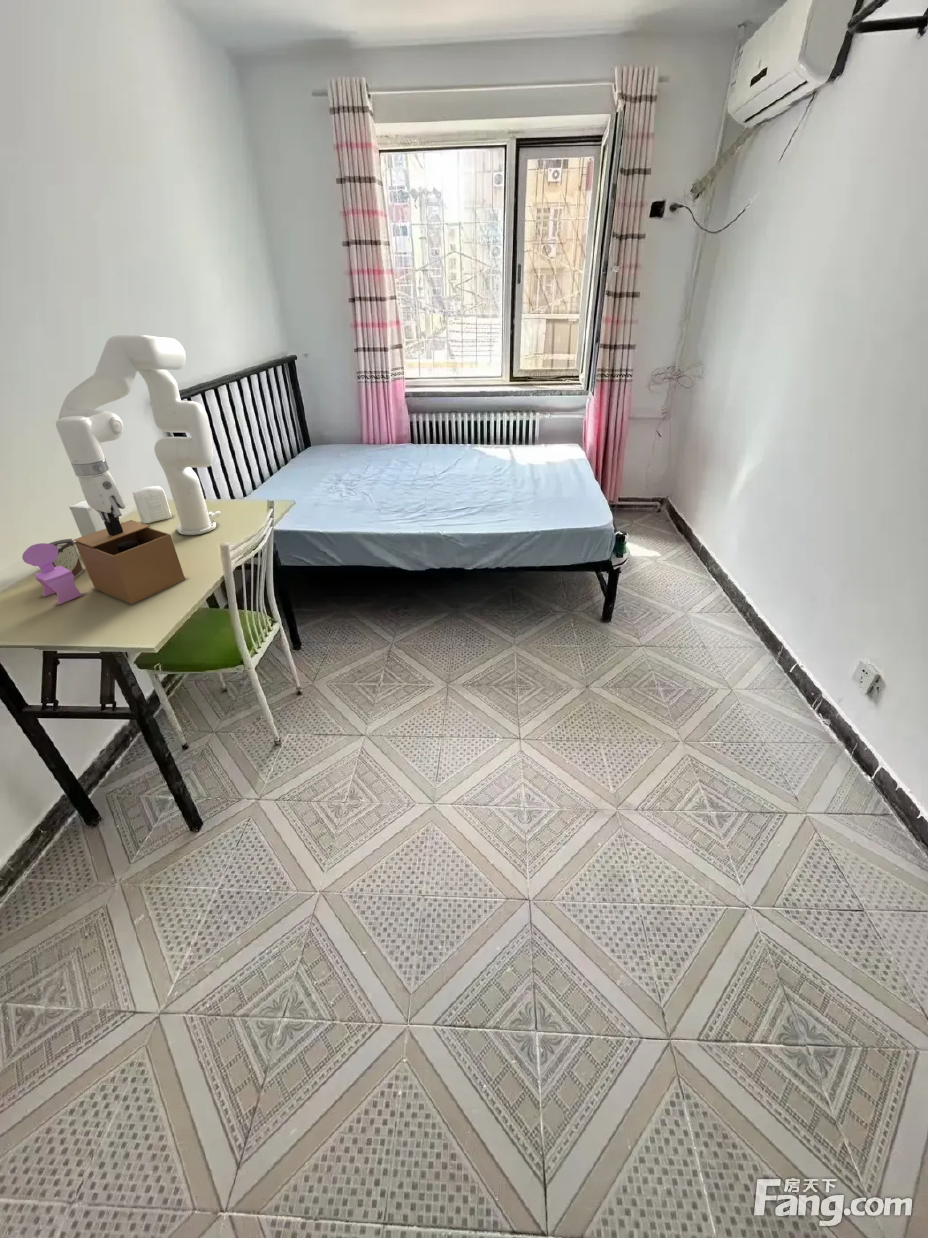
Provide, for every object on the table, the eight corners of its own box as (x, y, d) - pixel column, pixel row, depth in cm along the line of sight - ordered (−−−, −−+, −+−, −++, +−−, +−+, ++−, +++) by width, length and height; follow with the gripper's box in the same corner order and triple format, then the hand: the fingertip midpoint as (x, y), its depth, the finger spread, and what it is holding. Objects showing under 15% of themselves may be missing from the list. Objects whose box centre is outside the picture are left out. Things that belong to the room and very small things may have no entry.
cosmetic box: (104, 554, 167) (85, 508, 159) (86, 552, 169) (67, 506, 160) (123, 544, 174) (106, 499, 166) (106, 542, 175) (88, 497, 167)
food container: (65, 568, 159) (51, 538, 154) (86, 568, 160) (73, 537, 154) (41, 588, 149) (25, 556, 143) (63, 587, 149) (48, 556, 144)
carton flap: (74, 540, 141) (73, 539, 141) (131, 520, 153) (131, 519, 153) (92, 547, 137) (92, 546, 137) (150, 526, 149) (149, 525, 149)
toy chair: (55, 606, 140) (29, 556, 132) (39, 598, 144) (13, 548, 136) (87, 593, 146) (65, 544, 138) (71, 585, 150) (48, 537, 142)
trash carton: (94, 588, 149) (74, 542, 141) (148, 565, 161) (132, 522, 153) (132, 604, 142) (113, 556, 134) (185, 579, 153) (170, 534, 146)
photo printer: (169, 514, 197) (159, 482, 190) (174, 517, 194) (163, 485, 187) (140, 521, 191) (128, 489, 184) (144, 525, 188) (132, 491, 181)
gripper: (122, 468, 134) (145, 534, 144) (89, 460, 140) (113, 524, 150) (92, 475, 128) (119, 544, 138) (59, 467, 135) (87, 533, 144)
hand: (116, 533), depth 144 cm, fingers closed
